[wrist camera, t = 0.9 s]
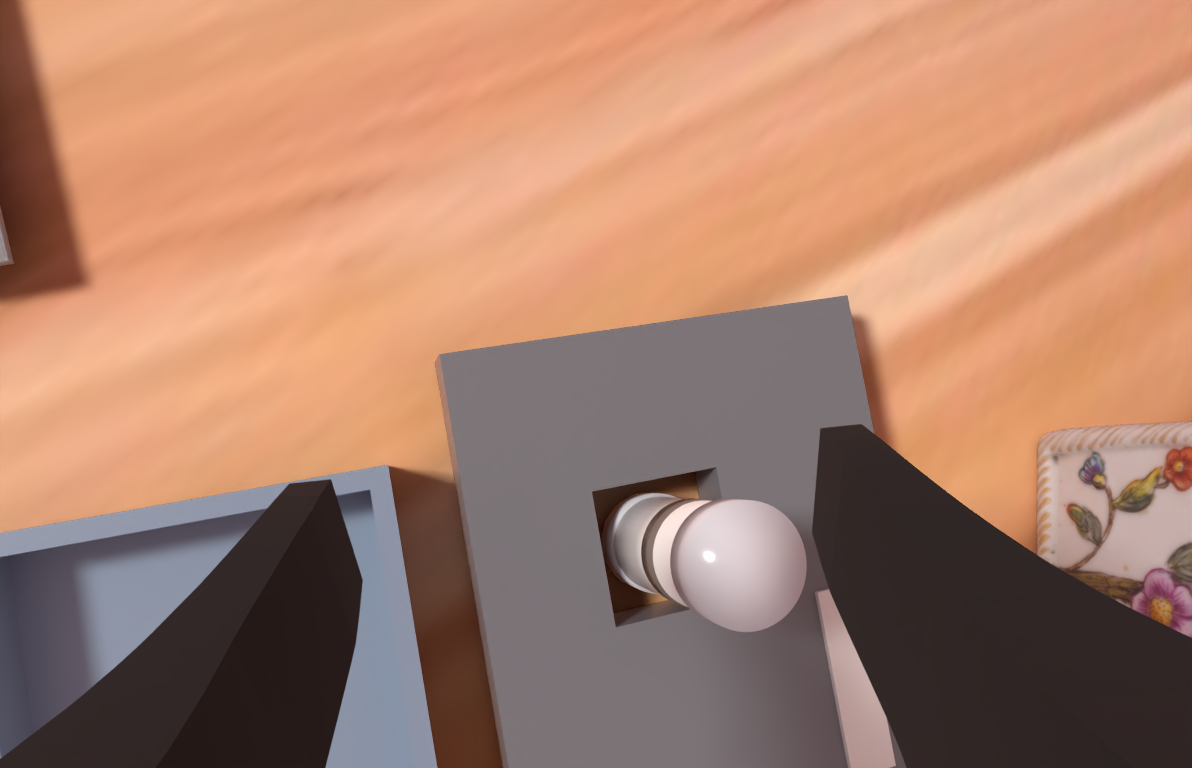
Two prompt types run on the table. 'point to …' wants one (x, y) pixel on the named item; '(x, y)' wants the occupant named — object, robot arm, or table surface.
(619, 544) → the white light bulb
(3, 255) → the electrical outlet
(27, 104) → the table surface
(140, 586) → the tray
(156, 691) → the robot arm
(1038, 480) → the decorative jar
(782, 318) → the light bulb socket board
